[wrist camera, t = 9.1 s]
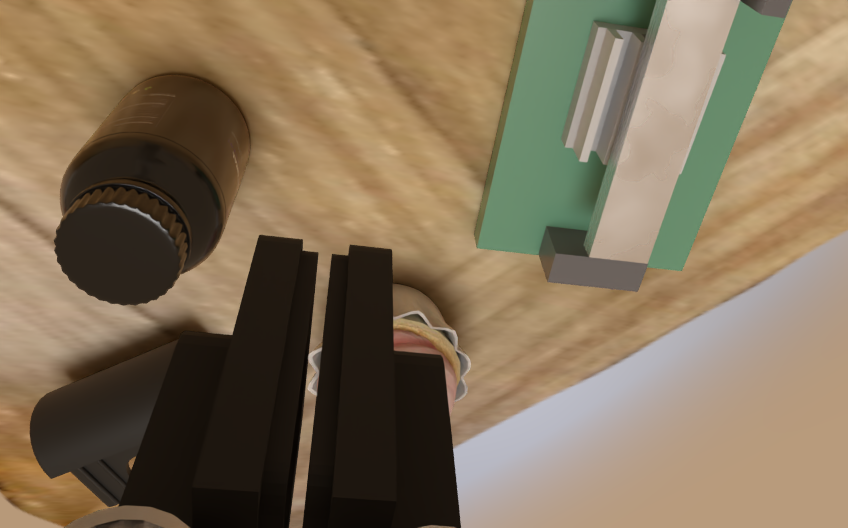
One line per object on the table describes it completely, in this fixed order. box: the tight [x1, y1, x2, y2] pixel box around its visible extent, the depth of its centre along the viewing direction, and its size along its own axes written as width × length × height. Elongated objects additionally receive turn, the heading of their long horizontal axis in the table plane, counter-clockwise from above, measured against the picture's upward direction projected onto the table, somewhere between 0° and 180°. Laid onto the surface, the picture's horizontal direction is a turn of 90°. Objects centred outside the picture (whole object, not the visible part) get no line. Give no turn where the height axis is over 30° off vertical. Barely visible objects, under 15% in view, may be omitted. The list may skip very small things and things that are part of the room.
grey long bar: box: [584, 0, 740, 264], centre depth 34 cm, size 15×3×2 cm, turn 171°
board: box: [474, 0, 793, 292], centre depth 36 cm, size 20×12×7 cm, turn 171°
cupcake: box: [308, 284, 471, 415], centre depth 42 cm, size 9×9×10 cm
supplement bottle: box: [54, 75, 250, 306], centre depth 34 cm, size 7×7×12 cm
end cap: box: [30, 339, 179, 507], centre depth 45 cm, size 10×7×7 cm
